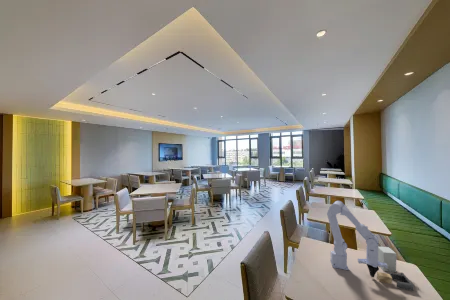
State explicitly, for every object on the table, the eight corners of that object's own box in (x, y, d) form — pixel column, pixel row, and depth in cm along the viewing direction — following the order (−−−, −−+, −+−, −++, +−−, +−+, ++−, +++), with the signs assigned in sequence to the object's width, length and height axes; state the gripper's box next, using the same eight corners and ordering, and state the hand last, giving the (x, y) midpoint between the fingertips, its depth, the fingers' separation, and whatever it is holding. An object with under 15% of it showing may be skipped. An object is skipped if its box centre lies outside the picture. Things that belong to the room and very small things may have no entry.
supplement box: (396, 272, 114) (397, 253, 114) (383, 271, 116) (383, 252, 115) (388, 264, 121) (389, 246, 121) (376, 263, 123) (376, 245, 122)
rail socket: (397, 287, 103) (397, 282, 102) (388, 275, 112) (388, 270, 112) (413, 291, 100) (413, 285, 100) (402, 278, 109) (403, 272, 109)
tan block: (379, 281, 107) (379, 275, 107) (377, 277, 110) (377, 271, 110) (391, 284, 105) (392, 277, 105) (389, 280, 108) (389, 274, 108)
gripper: (360, 256, 108) (360, 277, 109) (390, 261, 103) (390, 283, 104) (356, 249, 115) (356, 270, 115) (384, 254, 110) (384, 275, 110)
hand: (372, 276), depth 110 cm, fingers closed
